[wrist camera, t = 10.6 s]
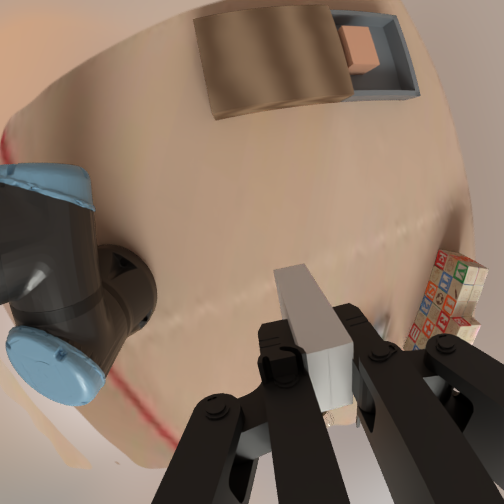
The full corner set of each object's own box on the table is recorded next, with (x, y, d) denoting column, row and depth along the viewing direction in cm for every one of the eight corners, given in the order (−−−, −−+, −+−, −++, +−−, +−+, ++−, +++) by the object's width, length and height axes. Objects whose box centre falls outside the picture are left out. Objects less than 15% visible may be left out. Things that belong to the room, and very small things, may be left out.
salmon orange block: (353, 64, 30) (379, 64, 29) (341, 25, 28) (368, 27, 28) (338, 75, 35) (362, 74, 35) (328, 40, 33) (352, 41, 33)
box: (340, 102, 37) (351, 96, 33) (318, 21, 33) (326, 9, 29) (405, 100, 37) (420, 95, 33) (383, 25, 33) (396, 15, 28)
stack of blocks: (437, 248, 45) (481, 272, 33) (458, 252, 46) (501, 275, 34) (402, 348, 51) (431, 386, 39) (424, 347, 52) (453, 381, 40)
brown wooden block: (215, 120, 37) (212, 113, 32) (198, 36, 33) (192, 19, 27) (339, 102, 37) (354, 94, 31) (317, 21, 33) (328, 5, 27)
